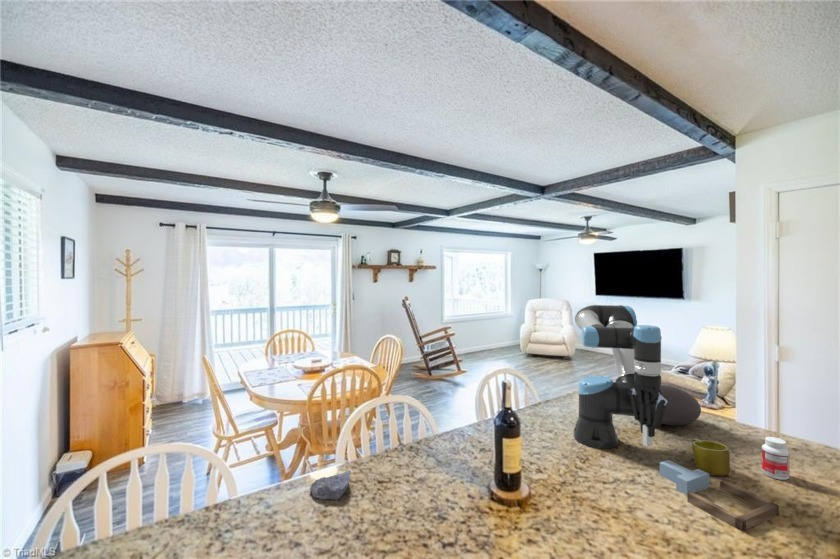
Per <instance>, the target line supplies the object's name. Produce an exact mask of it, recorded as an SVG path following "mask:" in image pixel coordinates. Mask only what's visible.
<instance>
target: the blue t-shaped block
mask: <svg viewBox="0 0 840 559" xmlns="http://www.w3.org/2000/svg"><path fill="white" fill-rule="evenodd" d="M659 476H661V477H662V478H665V479H667V480H669V481H670V482H671V483H674V484H676V485H675V488H676V490H677V491H678V492H680V493H682V494H684V495H686V496H687V493H688V492H693V493H697V492H699V491H702V489H703V490H706V489H707V488H708V489H709V488H710V475H709V473H706V472H704V471H702V470H700V469H698V468H697V469H693V470H691V469H688V468H687V467H684V466H682V465H680V464H678V463H675V462H673V461H672V460H669V459H667V460H663V461H660V462H659Z"/></svg>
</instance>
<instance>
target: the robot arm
mask: <svg viewBox="0 0 840 559" xmlns="http://www.w3.org/2000/svg"><path fill="white" fill-rule="evenodd" d="M574 322H575V325H576V326H577V327H578V328H579V329H580V330H581V342H582V346H584V347H586V348H592V349H595V348H597V349H598V348H599V349H601V348H602V349H612V350H611V351H612V354H613V359H614V363H615V368H616V373H617V378H616V379H615V381H613V379H612V378H611V377H609V376H603V375H592V376H591V375H590V376H587V377H584V378H581V379H580V380H579V382H578V391H577V393H578V417H577V420H576V423H575V426H574V429H573V437H574V440H576V441H577V442H578V443H580V444H583V445H586V446H587V447H590V448H591V447H592V448H597V449H613V448H615V447H617V446H618V444H619V436H618V434H617V433H616V430H615V426H614V422H613V415H616V416H618V415H619V416H626V417H634V419H635V420H636V421H638V422H639V423H640V433H641V434H642V445H643V446H646V447H647V448H648V447H651V446H653V445H654V444H653V443H654V439H653V438H654V437H655V435H656V434H655V431H656V430H655V429H656V428H657V427H661V426H662V425H663V424H662V420H663V416H664V412H665V408H666V406H667V404H668V403H669V400H668V399H665V398H664V397H663V396H662V393H661V391H660V387H661V385H662V375H661V374H662V332H661V328H660V327H658V326H656V325H648V324H647V325H646V324H638V320H637V315H636V313H635V310H634V308H633V307H631V306H629V305H623V304H619V305H610V304H609V305H607V304H606V305H604V304H602V305H601V304H594V305H588V306H585V307H583V308H581V309H579V311H577V312H576V314H575V317H574Z"/></svg>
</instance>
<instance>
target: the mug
mask: <svg viewBox="0 0 840 559" xmlns="http://www.w3.org/2000/svg"><path fill="white" fill-rule="evenodd" d="M690 441H691V442H690V443H691V449H692V455H693V460H694V464H695V468H697V469H700V470H702V471H704V472H706V473H709V476H710V475H712V476H717V477H720V476H721V477H722V476H723V477H725V476H728V475H730V473H731V461H730V458H731V457H730V454H731V453H730V449H729V447H728V446H726V444H723V443H720V442H718V441H714V440H713V441H712V440H700V438H692V439H691V440H690Z"/></svg>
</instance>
